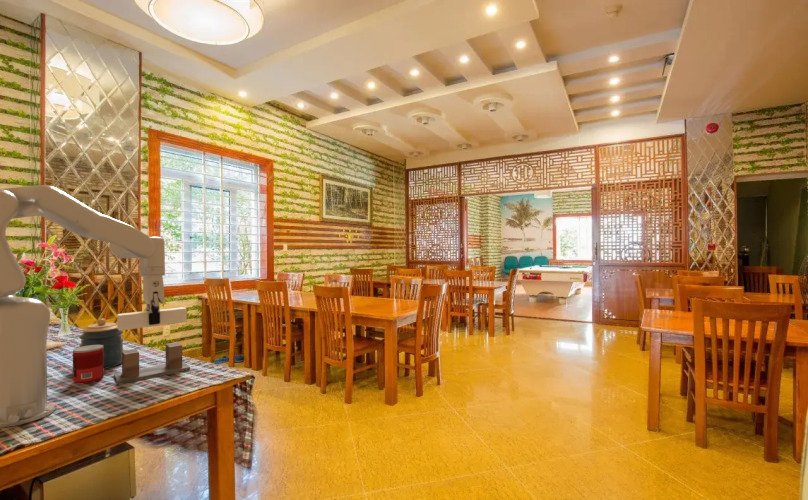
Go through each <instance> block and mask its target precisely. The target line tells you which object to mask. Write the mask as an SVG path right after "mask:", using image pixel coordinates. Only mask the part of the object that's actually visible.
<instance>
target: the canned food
mask: <svg viewBox="0 0 808 500" xmlns="http://www.w3.org/2000/svg"><path fill="white" fill-rule="evenodd" d="M104 375H105V368H104V347H103V345H88V346H82V347H79V346H78V347H76V348H74V349H72V381H73V383H74V384H76V385H85V384H90V383H94V382H98V381H101V380H102V379H103V378H104Z"/></svg>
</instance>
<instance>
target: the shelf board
mask: <svg viewBox="0 0 808 500" xmlns="http://www.w3.org/2000/svg"><path fill="white" fill-rule="evenodd" d="M187 312H188V311H187V308H186V307H185V306H183V307H182V306H181V307H174V308H164V309H163V308H162V309H160V323H159V324H153V325H149V313H150V311H146V310H143V311H134V312H125V313H118V314H116V318H117V321H116V322H117V323H116V324H117V329H118V330H119V331H120V330H122V331H125V330H136V329H142V328H151V327H159V326H165V325H174V324H180V323H187V322H188V321H187V317H188V316H187Z"/></svg>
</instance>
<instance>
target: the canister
mask: <svg viewBox="0 0 808 500" xmlns="http://www.w3.org/2000/svg"><path fill="white" fill-rule="evenodd" d="M81 331H82V332H83V333H82V334H80V335H79V336H78V338H79V339H80V340H81V341H80V344H79V345H78V347H82V346H88V345H103V347H104V369H108V368H113V367H117V366H119V365H120V364H121V365H122V351H124V349H123V348H124V347H123V346H124V343H123V342H124V339H123V337H122V335H123V334H124V330H120V331H119V330H118V329H117V323H116V322H107V320H106V319H105V318H99V319H98V320H97V321H96V323H92V324H89V325H87V326H86V327H84V328H83V329H81Z"/></svg>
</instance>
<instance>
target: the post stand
mask: <svg viewBox="0 0 808 500" xmlns="http://www.w3.org/2000/svg"><path fill="white" fill-rule="evenodd" d="M188 369H190V370H191V367H190V365H188V364H187V363H186V362H185V361H183V344H181V343H180V342H179V341H175V342H170V343H165V364H160V365H154V366H148V367H143V368H140V352H139V350H138V349H137V348H132V349H125V350H124V349H123V351H122V363H121V372H117V373H114V374H113V378H114V380H115V381H116V383H117V385H118V386H119V385H122V384H128V383H133V382H137V381H141V380H147V379H152V378H156V377H161V376H167V375H171V373H172V374H175V372H177V373H180V372H179V371H181V372H184V370H186V371H189V370H188ZM166 374H167V375H166Z"/></svg>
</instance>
